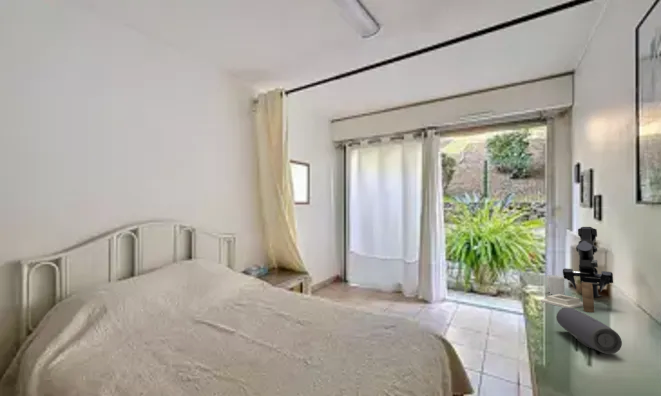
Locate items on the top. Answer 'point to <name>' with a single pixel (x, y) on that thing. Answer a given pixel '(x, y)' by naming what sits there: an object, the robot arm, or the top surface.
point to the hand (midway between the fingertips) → (587, 290)
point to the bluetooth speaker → (589, 331)
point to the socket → (563, 301)
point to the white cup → (556, 284)
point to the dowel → (587, 297)
